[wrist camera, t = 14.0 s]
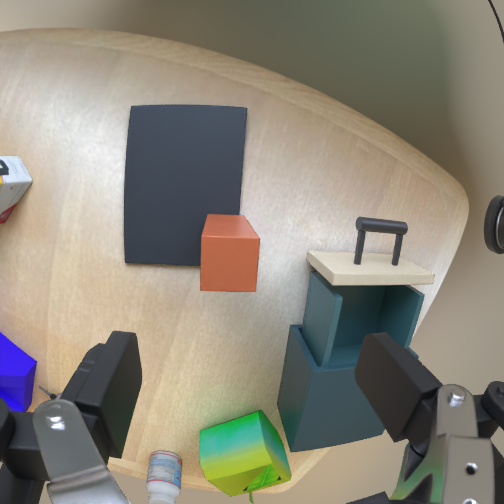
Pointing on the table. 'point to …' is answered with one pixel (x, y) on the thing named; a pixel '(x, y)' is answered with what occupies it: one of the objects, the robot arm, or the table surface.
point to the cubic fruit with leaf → (243, 455)
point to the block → (229, 254)
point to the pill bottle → (164, 477)
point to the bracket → (16, 376)
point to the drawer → (361, 296)
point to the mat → (179, 178)
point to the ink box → (12, 184)
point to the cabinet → (322, 401)
